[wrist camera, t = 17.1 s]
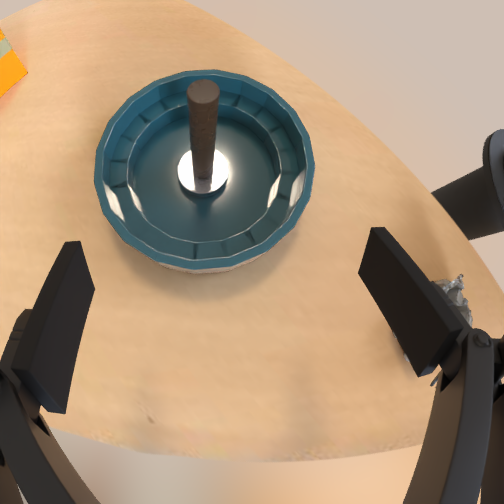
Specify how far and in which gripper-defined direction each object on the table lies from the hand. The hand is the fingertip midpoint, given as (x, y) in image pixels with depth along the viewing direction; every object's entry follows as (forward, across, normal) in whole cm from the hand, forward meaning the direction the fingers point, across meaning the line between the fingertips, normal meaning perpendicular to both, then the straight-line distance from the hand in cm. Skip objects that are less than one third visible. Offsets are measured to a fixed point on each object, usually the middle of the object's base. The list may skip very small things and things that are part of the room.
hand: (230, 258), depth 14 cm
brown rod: (+19, -1, -4) cm, 19 cm away
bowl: (+19, -1, -4) cm, 20 cm away
